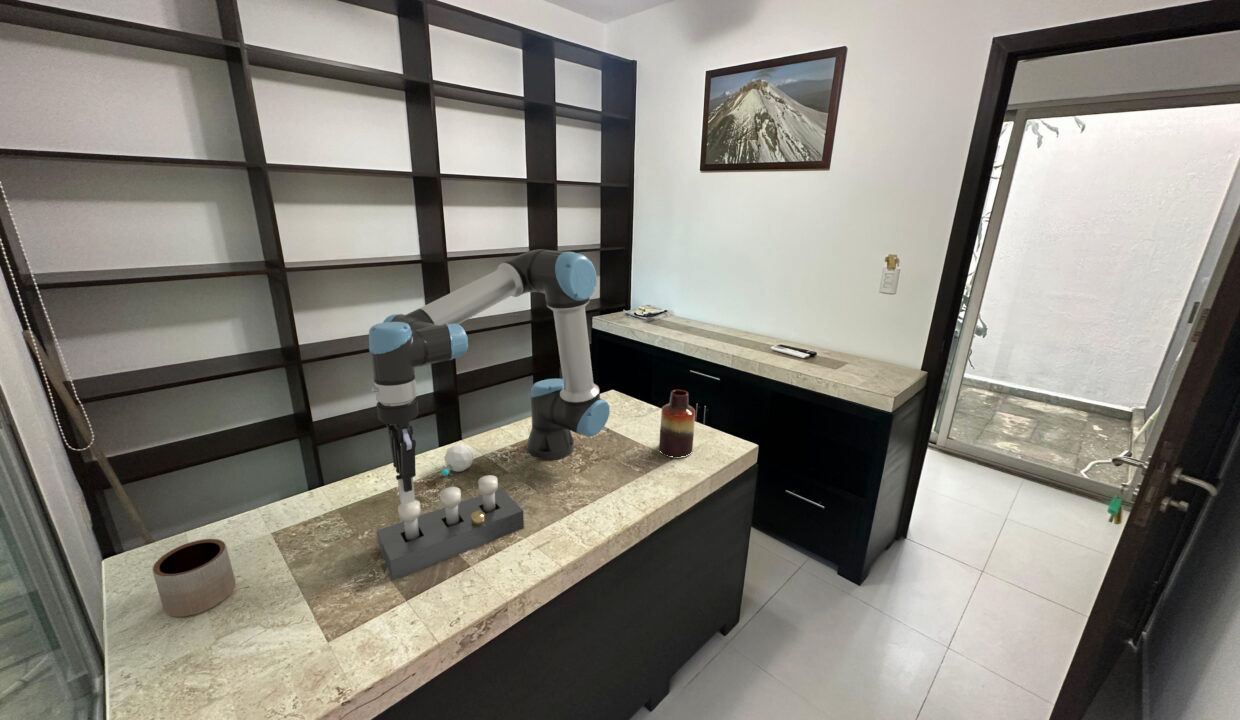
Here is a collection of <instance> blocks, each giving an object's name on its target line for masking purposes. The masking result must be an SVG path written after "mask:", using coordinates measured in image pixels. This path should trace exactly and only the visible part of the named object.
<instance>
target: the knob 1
mask: <svg viewBox="0 0 1240 720" xmlns="http://www.w3.org/2000/svg"><path fill="white" fill-rule="evenodd" d="M397 510H398V518H399V520H400V521H401V522H403V521H404V529H405V537H406V540H409V541H411V540H414V539H417V538H418V537H419V528H418V517H419V516H421V515H422V510H421V502H420V501H419V500H418V499H415V501H414V502H411V503H407V504H404V505H402V504H401V503H399V504H398V506H397Z"/></svg>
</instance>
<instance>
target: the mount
mask: <svg viewBox="0 0 1240 720" xmlns="http://www.w3.org/2000/svg"><path fill="white" fill-rule="evenodd" d="M475 511H483V512H484V515H485V522H484V524H482V525H480V526H474V525H472V523H471V514H472V513H473V512H475ZM458 512H459V523H458V524H456V525H453V526H449V525H447V523H446V512H445V507H441V508H439V509H436V510H433V511H429V512H426V513H424V514H421V515H420V516H419V517H418V528H419V537H418V538H417V539H414V540H411V541H409V540H406V537H405V529H404V521H400V522H397V523H395V524H392V525H389V526H386V527H382V528H380V529H377V530H376V538H377V544H378V545H377V546H378V550H379V553H380V555H381V557H382V560H383V562H384V564H385V566H386V569H387V571H388V573H389V575H390V577H391V580H392V581H396V580H399V579H401V578H403V577H406V576H408V575H411V574H413V573H416V572H418V571H421V570H423V569H425V568H428V567H431V566H433V565H436V564H438V563H440V562H443V561H445V560H448V559H451V558H453V557H455V556H458V555H460V554H463V553H467V552H468V551H470V550H473V549H475V548H478V547H480V546H483V545H485V544H487V543H488V544H489V543H491V542H493V541H495V540H498V539H501V538H503V537H506V536H509V535H510V534H513V533H516V532H517V531H520V530H523V529H524V528H525V526H524V525H525V523H524V522H525V520H524V516H525V515H524V510H523V509H522V508H521V506H519V504H518V503H517V502H516V501H515V500H514V499H513V498H512V497H511V495H509V494H508V493H507V492H506V491H505V490H504V488H498V490H497V491H496V492H495V510H494V511H492V512H485V511H484V508H483V494H481V495H478V496H474V497H472V498H471V497H470V498H469V499H465V500H463V501H462V500H461V502H460V503H459V504H458Z"/></svg>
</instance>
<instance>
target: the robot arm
mask: <svg viewBox="0 0 1240 720" xmlns="http://www.w3.org/2000/svg"><path fill="white" fill-rule="evenodd" d="M597 278H598V277H597V272H596V269H595V266H594V264H593V262H592V261H591V260H590V259H589V258H588V257H587V256H586V255H584V254H581V253H576V252H574V251H563V250H550V249H545V248H543V249H541V248H540V249H539V248H538V249H533V250H530V251H528V252H524V253H521V254H519V255H517V256H515V257H512V258H511V259H509V260H506V261H504V262H502V263H500V264H499V265H498V266H497V269H496V270H495V271H493V272H491V273H489V274H487V275H484V276H483V277H480V278H479V279H475V281H473V282H470V283H468V284H466V285H464V286H462V287H460V288H458V289H456V290H454V291H452V292H450V293H448V294H446V295H444V296H441V297H439V298H438V299H435V300H434V301H432V302H430V303H428V304H426V305H423V306H421V307H419V308H417V309H415V310H413V311H410V312H408V313H406V314H403V313H399V314H398V313H395V314H394V313H393V314H390V315H388V316H387V317H386V318H385V319H384V320H383V321H382V322H380V323H376V324H374V325H372V326H371V327H370V328H369V330H368V345H369V346H368V350H369V355H370V359H371V366H372V373H373V383H374V384H373V385H374V387H372V388H371V392H372V393H375V400H376V401H377V403H376V410H377V411H376V412H377V418H378V420H379V421H380V422H381V423H383V424H385V426H386V429H387V433H388V439H389V445H390V450H391V457H392V462H393V464H392V465H393V467H394V468H395V472H396V474H397V475H395V479H396V480H397V485H398V486H397V487H398V493H399V502H400V504H402V505H404V504H407V503H411V502H414V501H415V500H416V494H415V493H416V492H415V483H414V477H416V475H417V473H416V471H417V470H416V445H417V442H416V439H413V434H414V432H413V431H414V430H413V426H412V425H410V423H411V421H413V420H414V419H416V418H417V417H418V415H419V404H418V398H416V397H417V396H418V392H417V391H418V390H417V380H416V371H415V369H416V368H419V367H423V366H427V365H433V364H437V363H441V362H445V361H452V360H453V359H457V358H460V357H462V356H464V355H465V354H466V352H467V351H468V348H469V342H468V341H469V337H468V335H467V333H466V331H465V328H464V327H463V326H461V325H460V324H462V323H464V322H465V321H467V320H468V319H471V318H473V317H475V316H476V315H479V314H480V313H482V312H484V311H485V310H488V309H489V308H491V307H493V306H495V305H497V304H499V303H501V302H503V301H504V300H506V299H508V298H509V297H514V298H517V297H518V298H519V297H520V296H522V295H523V294H526V293H527V294H528V293H541V294H544V296H545V297H544V298H545V302H546V304H545V305H546V307H547V308H548V309H550V310H551V311H552V312H553V313H552V314H553V319H554V326H555V332H556V341H557V347H558V355H559V360H560V368H561V374H562V378H546V379H544V380H539V381H536V382H534V384H533V385H532V386H531V389H530V391H531V392H530V393H531V394H530V404H531V405H530V409H531V411H530V412H531V430H530V433H529V436H528V439H527V442H526V452H527V453H528V454H529V456H531V457H533V458H535V459H538V460H550V461H551V460H561V459H563V458H566V457H568V456H570V455H571V454H572V453H573V452H574V450H575V441H574V438H573V435H572V432H573V433H575V434H578V435H579V436H585V437H587V438H590V437H591V438H592V437H594V436H596V435H598V434H599V433H600V432H601V431H602V430H603V429H604V428H605V426H606V424H607V422H608V420H609V418H610V417H609V416H610V409H611V408H610V404H609V403H608V401H606V400H605V399H602V398H601V394H600V387H599V385H597V384H596V383H594V377H593V376H594V375H593V370H592V369H593V368H592V367H593V366H592V359H591V351H590V341H589V334H588V333H589V332H588V324H587V323H588V322H587V315H586V307H587V305H588V304H589V303H590V297H591V296H593V294H594V293H595V291H596V290H595V287H597V284H598V283H597V280H598V279H597Z"/></svg>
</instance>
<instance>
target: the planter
mask: <svg viewBox="0 0 1240 720" xmlns="http://www.w3.org/2000/svg"><path fill="white" fill-rule="evenodd" d="M152 573H153V578H154V581H155V584H156V588H157V592H158V596H159V598H160V602H161V606H162V608H163V611H164V613H165V614H166V615H168V616H170V617H172V618H173V617H174V618H175V617H176V618H185V617H190V616H194V615H197V614H201V613H203V612H205V611H208V610H210V609H212V608H214V607H215V606H217V605H219V604H221V603H222V602H223V601H224V600H226V599H227V598H228V597H229V596H230V595H232V593H233V591H234V589H235V587H236V577H235V574H234V570H233V567H232V563H231V559H230V555H229V552H228V548H227V544H226V542H225V541H223V540H221V539H218V538H206V539H205V538H203V539H197V540H194V541H190V542H188V543H187V542H186V543H184V544H182V545H179V546H177V547H175V548H173V549H171V550H169V551H168V552H166V553H164V554H163V555H162V556H161V557H159V558H158V559H157V560H156V561H155V563H154V564H153V566H152Z"/></svg>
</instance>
